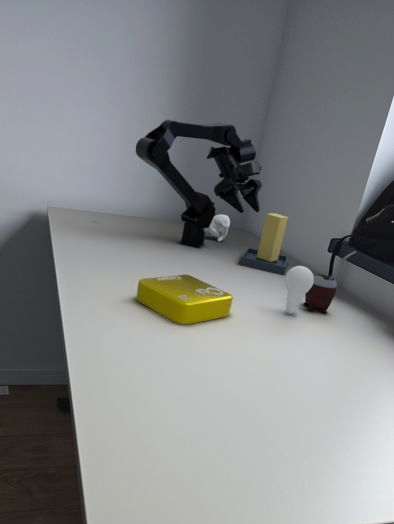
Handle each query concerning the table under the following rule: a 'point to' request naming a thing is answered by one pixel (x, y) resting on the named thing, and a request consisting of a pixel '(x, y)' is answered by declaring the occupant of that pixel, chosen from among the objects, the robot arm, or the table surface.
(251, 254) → the tray
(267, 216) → the sponge
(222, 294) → the element tile
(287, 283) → the lightbulb
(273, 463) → the table surface
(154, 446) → the table surface
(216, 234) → the white irregular rounded piece
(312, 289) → the mate gourd
